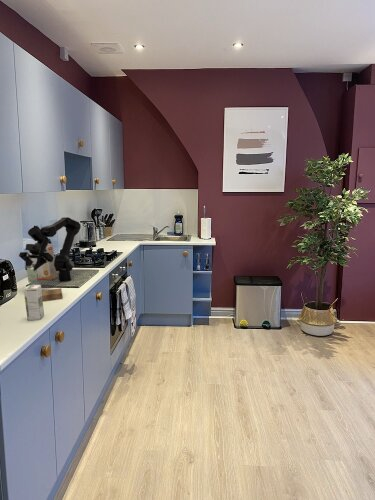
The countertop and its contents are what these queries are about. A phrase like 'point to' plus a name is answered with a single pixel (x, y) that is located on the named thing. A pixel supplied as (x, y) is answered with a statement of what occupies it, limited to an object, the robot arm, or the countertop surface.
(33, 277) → the spice tin
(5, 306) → the countertop surface
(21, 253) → the robot arm
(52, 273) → the cracker box
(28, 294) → the syrup box
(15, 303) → the countertop surface
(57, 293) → the walnut block
